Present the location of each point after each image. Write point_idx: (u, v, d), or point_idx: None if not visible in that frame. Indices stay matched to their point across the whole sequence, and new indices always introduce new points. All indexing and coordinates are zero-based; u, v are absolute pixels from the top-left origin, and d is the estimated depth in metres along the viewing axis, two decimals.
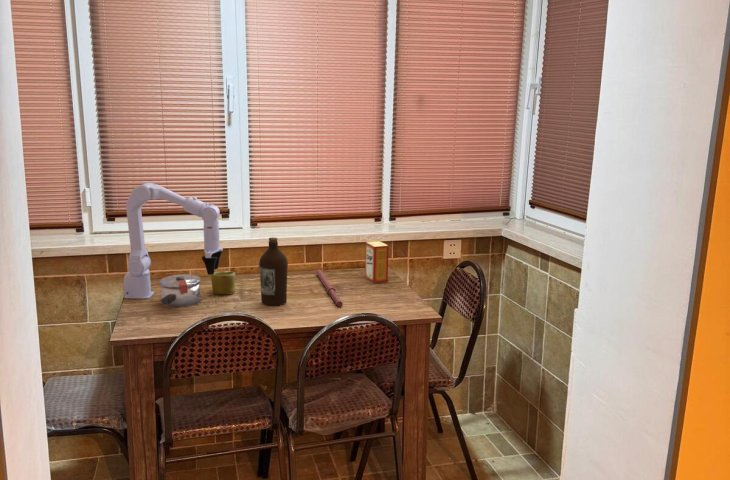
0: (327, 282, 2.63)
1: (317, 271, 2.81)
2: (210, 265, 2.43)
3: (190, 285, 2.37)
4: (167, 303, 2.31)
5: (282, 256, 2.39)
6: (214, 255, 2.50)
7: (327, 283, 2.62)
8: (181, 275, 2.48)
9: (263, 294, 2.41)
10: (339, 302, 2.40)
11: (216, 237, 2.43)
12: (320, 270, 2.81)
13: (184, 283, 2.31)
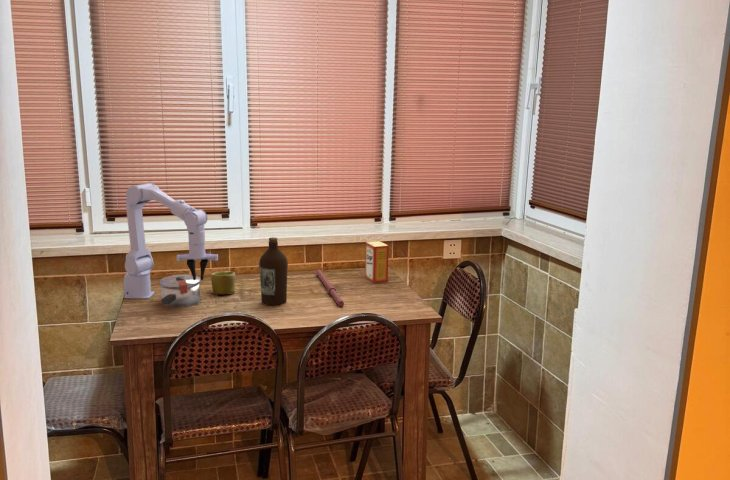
0: (327, 282, 2.63)
1: (317, 271, 2.81)
2: None
3: (190, 285, 2.37)
4: (167, 303, 2.31)
5: (282, 256, 2.39)
6: (194, 265, 2.35)
7: (327, 283, 2.62)
8: (181, 275, 2.48)
9: (263, 294, 2.41)
10: (340, 302, 2.40)
11: (198, 244, 2.31)
12: (320, 270, 2.81)
13: (184, 283, 2.31)
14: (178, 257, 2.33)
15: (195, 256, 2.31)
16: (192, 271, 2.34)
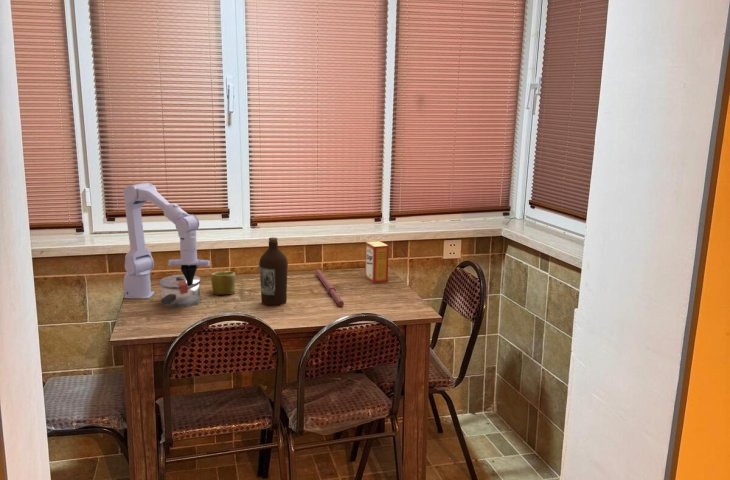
0: (327, 282, 2.63)
1: (316, 271, 2.81)
2: None
3: None
4: (167, 303, 2.31)
5: (282, 256, 2.39)
6: None
7: (327, 283, 2.62)
8: (181, 275, 2.48)
9: (263, 294, 2.41)
10: (340, 302, 2.40)
11: (189, 249, 2.30)
12: (319, 270, 2.81)
13: (184, 283, 2.31)
14: (170, 262, 2.32)
15: (186, 262, 2.30)
16: (186, 277, 2.33)
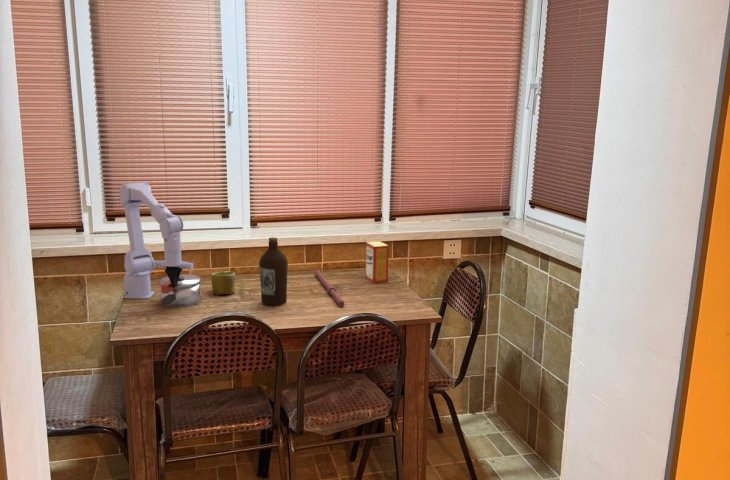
0: (327, 282, 2.63)
1: (315, 271, 2.81)
2: (175, 277, 2.32)
3: (180, 286, 2.35)
4: (167, 303, 2.31)
5: (282, 256, 2.39)
6: None
7: (327, 283, 2.62)
8: (188, 275, 2.47)
9: (263, 294, 2.41)
10: (341, 302, 2.40)
11: (171, 251, 2.27)
12: (318, 270, 2.81)
13: (167, 283, 2.30)
14: (155, 263, 2.31)
15: (168, 263, 2.28)
16: (170, 278, 2.30)
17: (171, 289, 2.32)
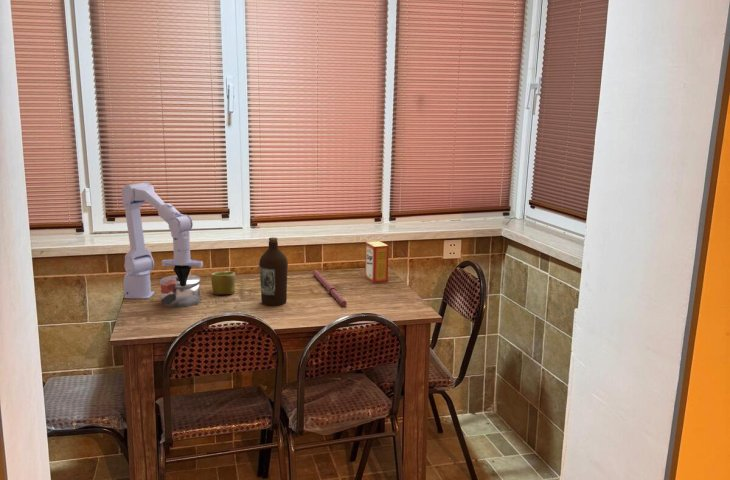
0: (327, 282, 2.63)
1: (313, 271, 2.80)
2: None
3: (180, 286, 2.35)
4: (167, 303, 2.31)
5: (282, 256, 2.39)
6: None
7: (327, 283, 2.62)
8: (188, 275, 2.47)
9: (263, 294, 2.41)
10: (343, 302, 2.40)
11: (181, 250, 2.28)
12: (316, 270, 2.81)
13: (167, 283, 2.30)
14: (163, 262, 2.31)
15: (178, 262, 2.29)
16: (179, 277, 2.31)
17: (171, 289, 2.32)
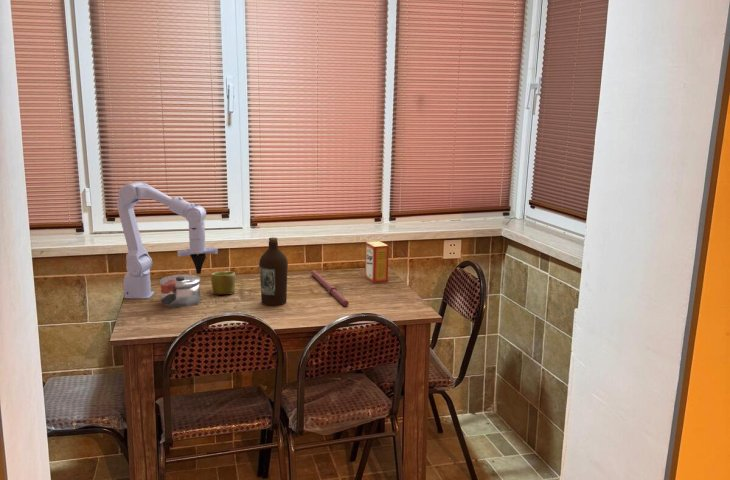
0: (326, 282, 2.63)
1: (312, 271, 2.80)
2: None
3: (180, 286, 2.35)
4: (167, 303, 2.31)
5: (282, 256, 2.39)
6: None
7: (327, 283, 2.62)
8: (188, 275, 2.47)
9: (263, 294, 2.41)
10: (345, 301, 2.41)
11: (200, 238, 2.39)
12: None
13: (167, 283, 2.30)
14: (179, 253, 2.39)
15: (198, 250, 2.39)
16: (196, 265, 2.42)
17: (171, 289, 2.32)
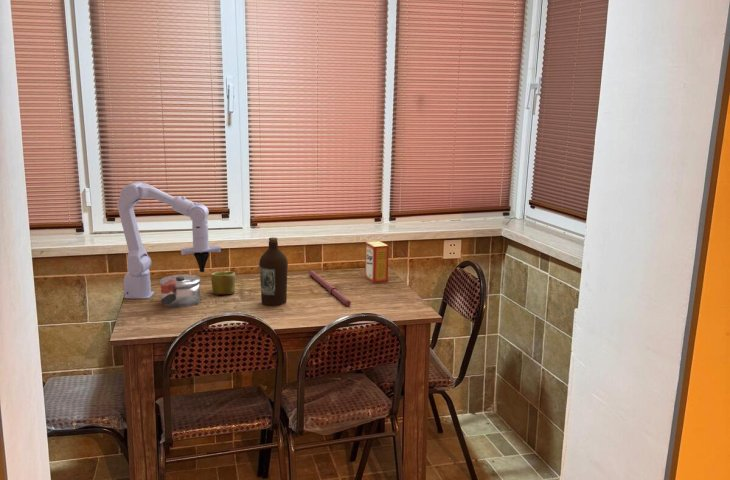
0: (326, 282, 2.63)
1: (310, 272, 2.80)
2: None
3: (180, 286, 2.35)
4: (167, 303, 2.31)
5: (282, 256, 2.39)
6: None
7: (327, 283, 2.62)
8: (188, 275, 2.47)
9: (263, 294, 2.41)
10: (348, 301, 2.41)
11: (205, 237, 2.42)
12: None
13: (167, 283, 2.30)
14: (183, 251, 2.41)
15: (201, 249, 2.42)
16: (200, 263, 2.44)
17: (171, 289, 2.32)
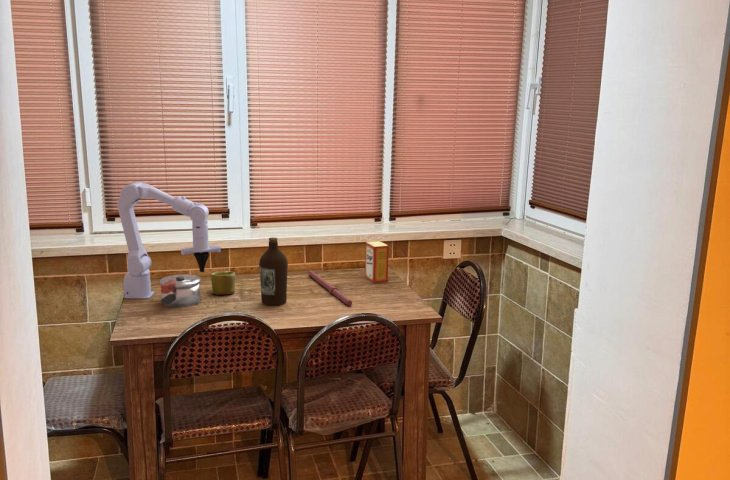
0: (326, 282, 2.63)
1: (309, 272, 2.79)
2: None
3: (180, 286, 2.35)
4: (167, 303, 2.31)
5: (282, 256, 2.39)
6: None
7: (327, 283, 2.62)
8: (188, 275, 2.47)
9: (263, 294, 2.41)
10: (349, 301, 2.41)
11: (205, 237, 2.42)
12: (312, 271, 2.80)
13: (167, 283, 2.30)
14: (183, 251, 2.41)
15: (201, 249, 2.42)
16: (200, 263, 2.44)
17: (171, 289, 2.32)
